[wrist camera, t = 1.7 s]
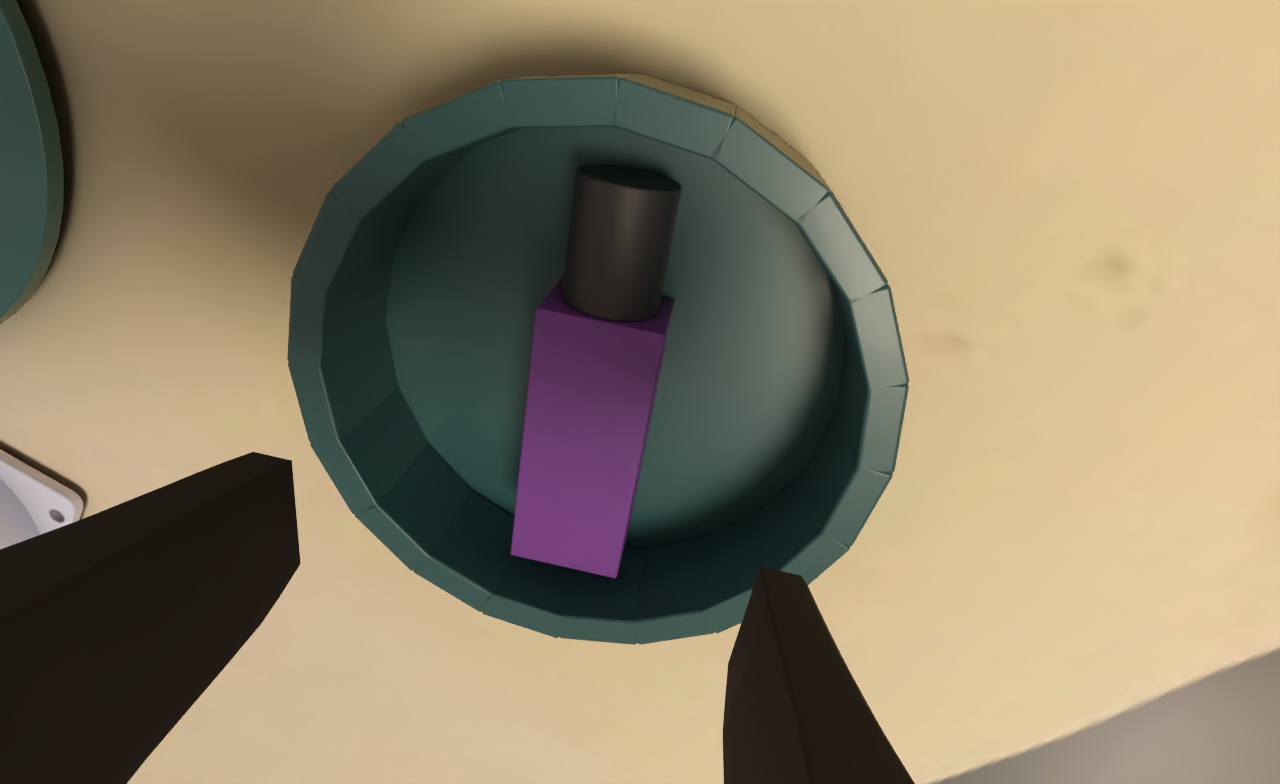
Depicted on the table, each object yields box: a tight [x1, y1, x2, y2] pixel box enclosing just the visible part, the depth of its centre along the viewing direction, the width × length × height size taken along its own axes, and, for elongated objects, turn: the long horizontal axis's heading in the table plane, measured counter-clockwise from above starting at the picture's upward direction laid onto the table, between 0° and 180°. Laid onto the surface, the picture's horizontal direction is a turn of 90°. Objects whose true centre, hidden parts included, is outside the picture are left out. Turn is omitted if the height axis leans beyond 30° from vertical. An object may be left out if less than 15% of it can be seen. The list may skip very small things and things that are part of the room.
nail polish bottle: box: [511, 164, 682, 578], centre depth 16 cm, size 10×3×2 cm, turn 170°
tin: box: [288, 73, 909, 645], centre depth 16 cm, size 13×13×4 cm
